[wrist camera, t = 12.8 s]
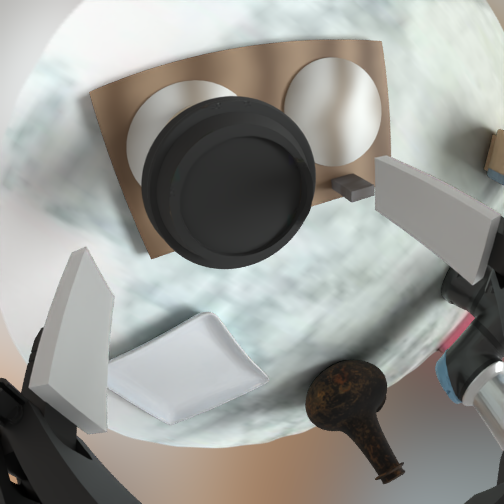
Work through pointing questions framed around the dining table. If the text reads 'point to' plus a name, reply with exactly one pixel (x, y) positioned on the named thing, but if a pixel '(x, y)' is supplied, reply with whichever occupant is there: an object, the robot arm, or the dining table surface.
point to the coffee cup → (228, 181)
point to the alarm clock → (496, 158)
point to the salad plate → (185, 371)
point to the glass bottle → (354, 411)
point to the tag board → (270, 91)
